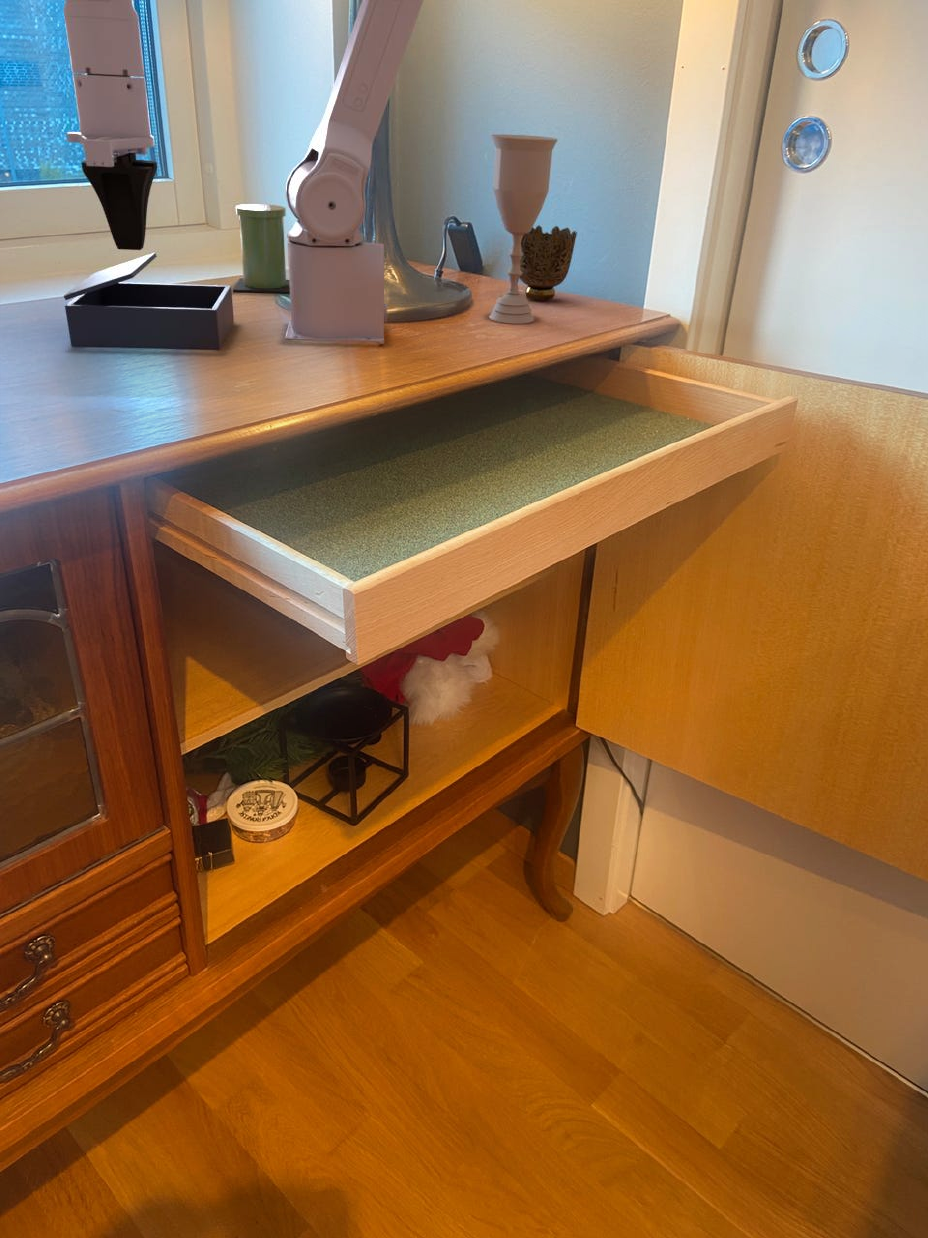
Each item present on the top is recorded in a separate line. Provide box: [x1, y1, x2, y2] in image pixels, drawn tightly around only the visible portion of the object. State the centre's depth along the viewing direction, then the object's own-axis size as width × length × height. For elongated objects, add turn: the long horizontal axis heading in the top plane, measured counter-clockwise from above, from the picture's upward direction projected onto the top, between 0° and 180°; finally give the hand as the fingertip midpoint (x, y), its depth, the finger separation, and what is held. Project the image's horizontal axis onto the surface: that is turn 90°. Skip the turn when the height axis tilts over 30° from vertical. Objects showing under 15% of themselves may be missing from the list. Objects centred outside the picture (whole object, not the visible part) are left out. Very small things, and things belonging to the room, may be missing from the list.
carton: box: [64, 281, 235, 351], centre depth 87 cm, size 13×11×4 cm
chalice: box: [488, 134, 558, 325], centre depth 99 cm, size 7×7×18 cm
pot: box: [235, 203, 287, 289], centre depth 108 cm, size 6×6×8 cm
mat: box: [232, 277, 290, 295], centre depth 110 cm, size 7×7×1 cm
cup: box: [519, 225, 578, 302], centre depth 111 cm, size 8×7×8 cm
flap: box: [63, 252, 158, 301], centre depth 85 cm, size 6×11×1 cm, turn 5°
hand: (130, 248), depth 84 cm, fingers closed
